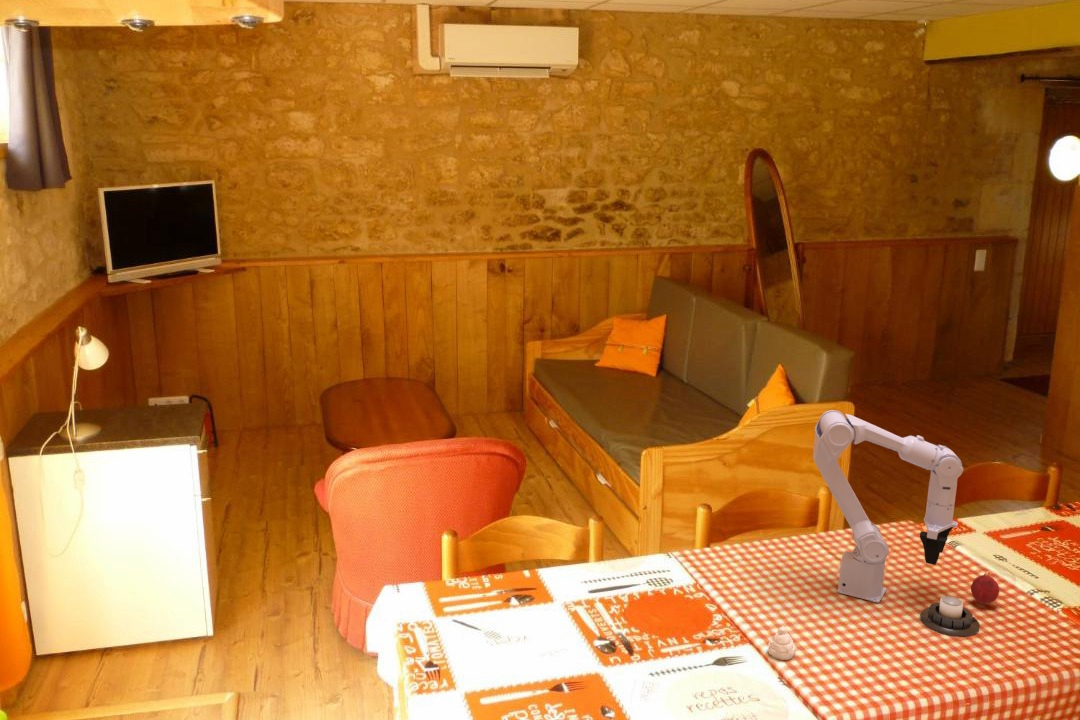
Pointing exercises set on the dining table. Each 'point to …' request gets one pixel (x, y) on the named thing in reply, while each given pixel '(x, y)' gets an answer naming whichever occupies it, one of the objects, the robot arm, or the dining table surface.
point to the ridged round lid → (949, 622)
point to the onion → (985, 589)
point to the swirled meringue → (781, 645)
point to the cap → (951, 607)
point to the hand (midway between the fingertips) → (934, 557)
